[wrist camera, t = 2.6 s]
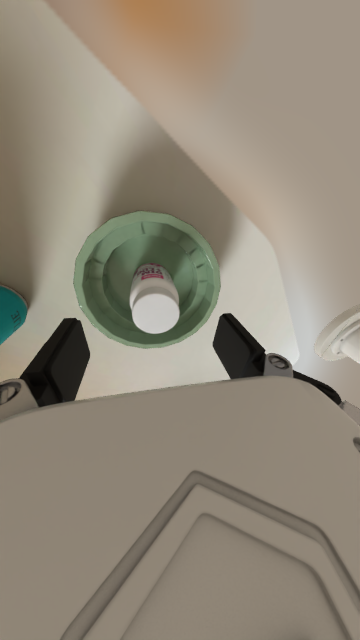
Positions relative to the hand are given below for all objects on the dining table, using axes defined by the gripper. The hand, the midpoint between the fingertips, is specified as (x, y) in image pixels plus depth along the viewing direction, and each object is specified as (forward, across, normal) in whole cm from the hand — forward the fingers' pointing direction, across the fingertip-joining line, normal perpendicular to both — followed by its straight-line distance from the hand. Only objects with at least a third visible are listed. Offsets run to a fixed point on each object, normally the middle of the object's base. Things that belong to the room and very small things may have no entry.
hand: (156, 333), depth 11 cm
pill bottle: (+11, 0, 0) cm, 11 cm away
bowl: (+11, 0, 0) cm, 11 cm away
